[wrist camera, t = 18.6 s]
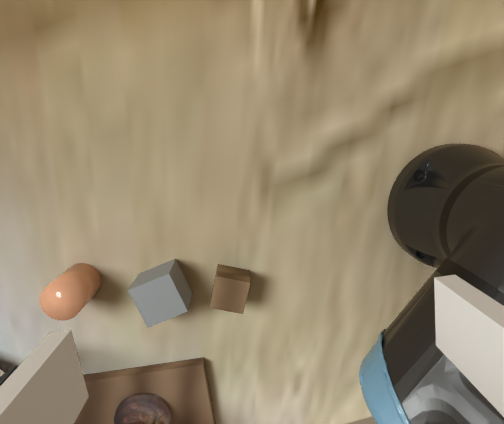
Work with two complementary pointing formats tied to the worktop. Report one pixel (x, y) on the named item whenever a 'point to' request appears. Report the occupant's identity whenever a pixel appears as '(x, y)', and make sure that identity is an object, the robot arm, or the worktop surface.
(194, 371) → the walnut board
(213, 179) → the worktop surface
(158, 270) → the slate grey cube
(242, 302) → the dark oak block
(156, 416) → the mortar and pestle
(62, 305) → the terracotta capsule
